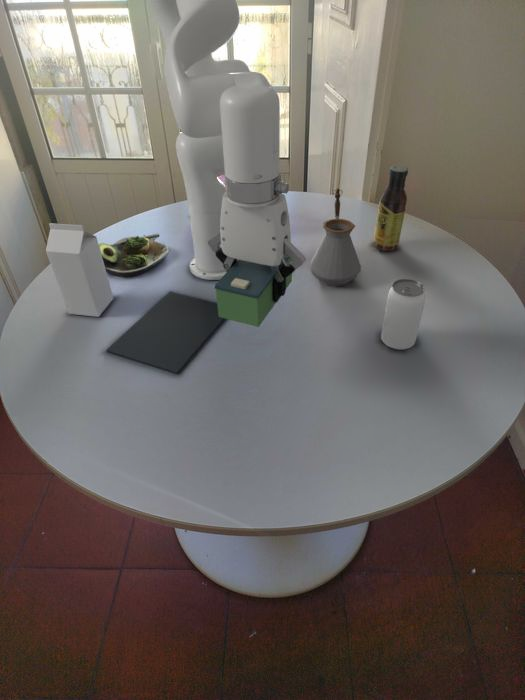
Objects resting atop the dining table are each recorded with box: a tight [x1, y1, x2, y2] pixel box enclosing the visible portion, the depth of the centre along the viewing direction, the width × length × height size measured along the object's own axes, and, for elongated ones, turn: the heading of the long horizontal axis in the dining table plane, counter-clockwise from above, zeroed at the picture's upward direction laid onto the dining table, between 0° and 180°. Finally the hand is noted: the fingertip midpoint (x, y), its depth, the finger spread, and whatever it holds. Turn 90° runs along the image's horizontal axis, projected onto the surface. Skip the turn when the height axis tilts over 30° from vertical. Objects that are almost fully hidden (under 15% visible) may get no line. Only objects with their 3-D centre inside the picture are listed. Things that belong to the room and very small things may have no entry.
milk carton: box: [45, 222, 114, 318], centre depth 95 cm, size 7×7×19 cm
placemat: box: [106, 291, 226, 375], centre depth 94 cm, size 22×16×1 cm
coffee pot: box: [309, 188, 362, 287], centre depth 107 cm, size 21×12×15 cm, turn 174°
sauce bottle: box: [373, 164, 409, 252], centre depth 112 cm, size 7×6×20 cm
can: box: [380, 278, 426, 351], centre depth 86 cm, size 6×6×12 cm
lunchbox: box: [214, 255, 293, 328], centre depth 76 cm, size 6×7×14 cm
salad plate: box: [98, 233, 170, 278], centre depth 117 cm, size 19×18×5 cm
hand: (256, 291), depth 77 cm, fingers closed on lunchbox, 7 cm apart
